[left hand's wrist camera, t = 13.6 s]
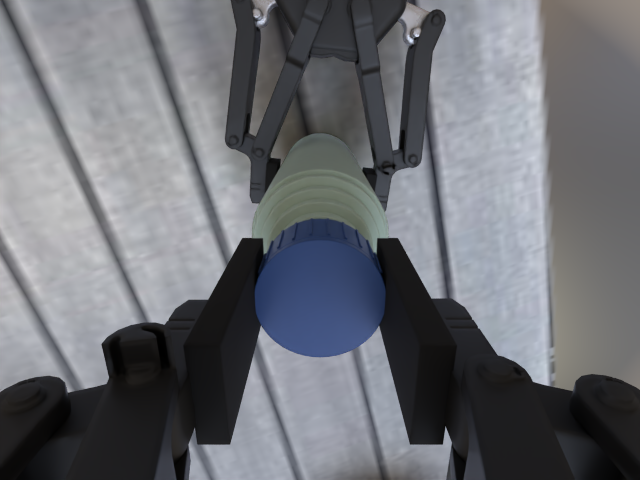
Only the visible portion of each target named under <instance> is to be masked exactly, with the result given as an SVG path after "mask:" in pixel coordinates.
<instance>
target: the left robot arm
mask: <svg viewBox="0 0 640 480" xmlns="http://www.w3.org/2000/svg"><path fill="white" fill-rule="evenodd" d="M376 255H377V258H378V261H379V263H380V266H381V269H382V272H383V273H382V274H381V275H382V278H383V281H384V284H385V288H386V295H385V310H384V316H383V318H382V321H381V323H380V325H379V326H380V330H381V334H382V338H383V342H384V345H385V349H386V353H387V357H388V361H389V365H390V369H391V372H392V376H393V380H394V384H395V388H396V392H397V396H398V399H399V403H400V407H401V411H402V415H403V419H404V423H405V426H406V430H407V434H408V438H409V442H410V444H443V440H444V433H445V426H446V428H447V431H448V433H449V436H450V439H451V441H452V446H451V453H450V459H449V466H448V472H447V479H446V480H640V390H639V389H638V388H636V387H634V386H632V385H630V384H628V383H626V382H624V381H622V380H619V379H616V378H612V377H609V376H604V375H595V374H591V375H585V376H581V377H580V378H579V379H578V380H576V382H575V386H574V390H573V391H569V390H565V389H560V388H555V387H550V386H546V385H542V384H538V383H535V382H533V381H532V379H531V377H530V376H529V374H528V373H527V372H526V370H525V369H524V368H522V367H521V366H520V365H518V364H517V363H516V362H514V361H512V360H509V359H507V358H505V357H502V356H498V355H497V354H496V352H495V351H494V349H493V348H492V346H491V345H490V343H489V342H488V341H487V339H486V338H485V336H484V335H483V333H482V332H481V330H480V329H478V326H477V325H476V323H475V322H474V320H472V317H471V316H470V314H469V313H468V312H467V310H466V309H465V307H463V306H462V305H460V304H459V303H457V302H456V301H454V300H453V299H431V297H430V295H429V294H428V292H427V290H426V288H425V286H424V285H423V283H422V281H421V279H420V277H419V276H418V274H417V272H416V270H415V268H414V266H413V265H412V263H411V261H410V259H409V257H408V256H407V254H406V252H405V250H404V248H403V247H402V245H401V243H400V241H399V239H398V238H377V251H376ZM263 256H264V247H263V238H242V240H241V242H240V243H239V245H238V247H237V249H236V251H235V252H234V254H233V256H232V258H231V260H230V261H229V263H228V265H227V267H226V269H225V271H224V272H223V274H222V276H221V278H220V280H219V281H218V283H217V285H216V287H215V289H214V290H213V292H212V294H211V296H210V298H209V300H188V301H186V302H185V303H183V304H182V305H181V306H179V307H178V308H176V309H175V311H174V312H173V314H172V315H171V316H170V318H169V321H167V322H166V324H165V325H163V324H159V323H140V324H135V325H130V326H128V327H125V328H123V329H120V330H118V331H116V332H115V333H113V334H111V335H110V336H108V337H107V338H106V340H105V341H104V342H103V343H102V348H103V353H104V357H105V362H106V366H107V370H108V375H109V380H108V382H107V384H105V385H101V386H97V387H93V388H88V389H84V390H79V391H74V392H70V393H68V392H67V388H66V385H65V382H64V381H62V380H61V379H60V378H58V377H52V376H43V377H35V378H31V379H28V380H24V381H21V382H18V383H17V384H15V385H12V386H10V387H8V388H6V389H4V390H3V391H2V392H0V480H188V479H189V470H190V461H191V460H190V453H189V446H188V444H189V441H190V439H191V436H192V433H193V431H194V428H195V431H196V438H197V444H230V443H231V439H232V435H233V431H234V427H235V423H236V420H237V416H238V412H239V408H240V404H241V400H242V396H243V393H244V389H245V385H246V381H247V377H248V373H249V369H250V366H251V362H252V358H253V354H254V350H255V346H256V342H257V339H258V335H259V331H260V327H261V324H260V322H259V320H258V317H257V314H256V307H255V285H256V282H257V279H258V276H259V274H257V273H258V270H259V267H260V264H261V262H262V259H263Z"/></svg>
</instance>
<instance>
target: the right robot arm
mask: <svg viewBox="0 0 640 480" xmlns="http://www.w3.org/2000/svg"><path fill="white" fill-rule="evenodd" d="M231 3H232V8H233V13H234V18H235V23H236V28H237V31H236V41H235V50H234V60H233V69H232V78H231V88H230V97H229V106H228V116H227V125H226V134H225V142H226V145H227V146H228V147H229V148H231V149H236V150H238V151H240V152H243V153H245V154H246V155H247V156H248V157H249V158H250V161H251V180H250V198H251V201H252V203H259V204H260V202H261V200H262V198H263V197H264V195H265V193H266V191H267V190H268V188H269V186H270V184H271V183H272V181H273V179H274V177H275V176H276V174H277V172H278V170H279V169H280V161H281V159H277V158H271V152H272V149H273V146H274V144H275V141H276V139H277V137H278V134H279V132H280V129H281V127H282V124H283V122H284V119H285V117H286V115H287V112H288V110H289V107H290V105H291V102H292V100H293V98H294V95H295V93H296V90H297V88H298V85H299V83H300V80H301V78H302V76H303V73H304V71H305V69H306V67H307V64H308V62H309V60H310V57H316V58H326V57H331V56H334V57H336V58H339V59H341V60H344V61H351V62H355V66H356V71H357V75H358V79H359V84H360V90H361V95H362V101H363V106H364V112H365V118H366V123H367V129H368V134H369V140H370V145H371V151H372V156H373V162H374V167H373V168H363V171H362V172H363V173H364V175H365V177H366V179H367V180H368V182H369V184H370V186H371V187H372V189H373V191H374V193H375V194H376V196H377V198H378V199H379V201H380V203H381V205H382V207H383V209H384V212H385V211H386V207H387V201H388V195H389V189H390V183H391V178H392V175H393V174H394V173H395V172H396V171H397V170H400V169H404V168H408V167H411V168H414V167H417V166H418V165H419V164H420V163H421V159H422V150H423V140H424V130H425V121H426V111H427V101H428V92H429V82H430V73H431V63H432V53H433V50H434V47H435V45H436V43H437V41H438V38H439V36H440V34H441V31H442V29H443V27H444V24H445V21H446V19H445V15H444V13H443V12H442V11H441V10H437V9H436V10H433V11H432V12H428V11H426V10H423V9H421V8H419V7H417V6H415V5H412V4H410V3H408V2H407V0H231ZM274 7H278V8H279V10H280V11H281V13H282V15H283V17H284V19H285V21H286V23H287V24H288V26H289V28H290V30H291V32H292V34H293V36H294V39H293V41H292V44H291V46H290V49H289V51H288V54H287V57H286V61H285V64H284V67H283V69H282V72H281V74H280V77H279V79H278V82H277V84H276V87H275V90H274V92H273V95H272V97H271V100H270V102H269V105H268V107H267V110H266V113H265V115H264V118H263V120H262V123H261V125H260V128H259V130H258V133H257V136H256V137H255V136H253V135H251V134H249V130H250V122H251V114H252V106H253V98H254V90H255V82H256V75H257V67H258V59H259V51H260V41H261V34H260V28H264V27H265V26H267V24H268V22H269V14H270V12H271V10H272V9H273V8H274ZM397 21H399V22H400V23H401V24H402V26H403V29H404V32H403V40H404V42H405V43H406V44H407V45H409V48H408V52H407V56H406V64H405V76H404V88H403V100H402V112H401V124H400V136H399V148H398V150H394V151H393V150H392V144H391V138H390V132H389V125H388V119H387V113H386V107H385V101H384V94H383V88H382V82H381V76H380V62H379V56H378V50H377V44H378V43H379V42H380V41H381V40H382V39H383V37H384V36H385V35H386V34H387V33H388V31H389V30H390V29H391V28H392V27H393V26H394V24H395V23H396V22H397Z"/></svg>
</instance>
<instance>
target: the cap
mask: <svg viewBox="0 0 640 480" xmlns="http://www.w3.org/2000/svg"><path fill="white" fill-rule="evenodd" d="M382 273H383V272H382V269H381V266H380V263H379V261H378V258H377V255H376V252H373V250H372V248H371V246H370V243H369V241H368V239H367V240H366V239H365V238H364V237H363V236H362V235H361V234H360V233H359V232H358V230H357V229H356V230H355V229H354V228H352V227H350V226H349V225H346V224H345V223H344V222H339V221H336V220H330V219H329V218H327V219H313V218H311V219H310V220H305V221H302V222H299V223H297V222H296V223H295V224H294V225H292V226H290V227H288V228H287V229H285V230H282V231H281V233H280V234H279V235H278V236H277V237H276V238H275V239H274V241H273V240H272V241H271V243H270V246H269V249H268V251H267V253H264V256H263V259H262V262H261V264H260V267H259V270H258V273H257V274H259V276H258V279H257V282H256V285H255V307H256V314H257V317H258V320H259V322H260V324H261V326H262V327H263V329H264V330H265V332H266V333H267V334H268V335H269V336H270V337H271V338H272V339H273V340H274V341H275V342H276V343H278V344H279V345H281V346H282V347H284V348H286V349H288V350H290V351H292V352H295V353H297V354H301V355H305V356H311V357H330V356H336V355H340V354H343V353H346V352H348V351H351V350H353V349H355V348H356V347H358V346H360V345H361V344H363V343H364V342H365V341H366V340H367V339H368V338H370V337H371V336H372V334H373V333H374V332H375V331H376V329H377V328H378V326H379V325H380V323H381V321H382V318H383V316H384V310H385V295H386V288H385V284H384V281H383V278H382V275H381V274H382Z"/></svg>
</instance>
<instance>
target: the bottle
mask: <svg viewBox="0 0 640 480" xmlns="http://www.w3.org/2000/svg"><path fill="white" fill-rule="evenodd" d="M311 218H313V219H327V218H329V219H330V220H336V221H339V222H344V223H345V224H346V225H349V226H350V227H352V228H354V229H355V230H356V229H357V230H358V232H359V233H360V234H361V235H362V236H363V237H364V238H365V239H366V240H367V239H368V241H369V243H370V246H371V248H372V250H373V252H376V251H377V238H388V223H387V218H386V215H385V212H384V209H383V207H382V205H381V203H380V201H379V199H378V198H377V196H376V194H375V193H374V191H373V189H372V187H371V186H370V184H369V182H368V180H367V179H366V177H365V175H364V173H363V172H362V170H361V168H360V166H359V165H358V163H357V161H356V159H355V158H354V156H353V154H352V153H351V151H350V149H349V148H348V146H347V145H346V144H345V143H344V142H343V141H341V140H340V139H339V138H337V137H335V136H332V135H329V134H325V133H316V134H311V135H308V136H305V137H303V138H302V139H300V140H299V141H297V142H296V143H295V144H294V145H293V147H292V148H291V150H290V151H289V153H288V155H287V156H286V158H285V160H284V162H283V163H282V165H281V167H280V169H279V170H278V172H277V174H276V176H275V177H274V179H273V181H272V183H271V184H270V186H269V188H268V190H267V191H266V193H265V195H264V197H263V198H262V200H261V202H260V204H259V206H258V208H257V210H256V212H255V216H254V219H253V225H252V238H263V247H264V253H267V251H268V249H269V246H270V243H271V241H272V240H273V241H274V239H275V238H276V237H277V236H278V235H279V234H280V233H281V231H282V230H285V229H287V228H288V227H290V226H292V225H294V224H295V223H296V222H297V223H299V222H302V221H305V220H310V219H311Z"/></svg>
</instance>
